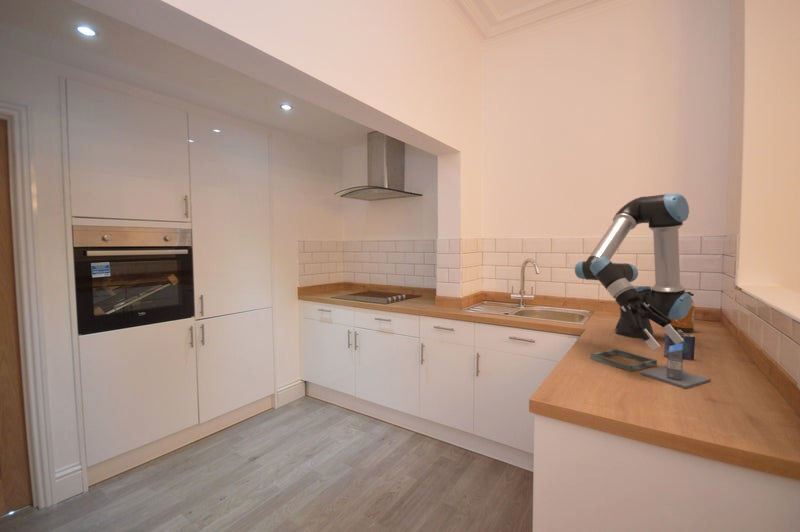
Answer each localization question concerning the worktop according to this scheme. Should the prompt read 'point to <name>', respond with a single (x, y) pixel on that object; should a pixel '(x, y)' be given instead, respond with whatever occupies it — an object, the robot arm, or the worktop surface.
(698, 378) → the mat
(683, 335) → the flask
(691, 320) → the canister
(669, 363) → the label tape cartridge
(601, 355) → the holder
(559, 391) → the worktop surface
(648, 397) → the worktop surface
